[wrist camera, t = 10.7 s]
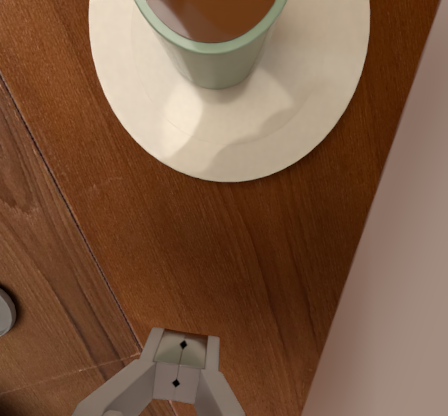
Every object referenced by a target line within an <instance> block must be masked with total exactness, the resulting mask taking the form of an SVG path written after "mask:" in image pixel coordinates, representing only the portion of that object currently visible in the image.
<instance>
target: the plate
mask: <svg viewBox="0 0 448 416" xmlns="http://www.w3.org/2000/svg"><path fill="white" fill-rule="evenodd" d="M369 31H370V4H369V0H287V2H286V4H285V7H284V9H283V11H282V14H281V16H280V18H279V21H278V23H277V25H276V28H275V30H274V32H273V35H272V37H271V39H270V41H269V44H268V46H267V48H266V51H265V53H264V55H263V58H262V59H261V61H260V63H259V65H258V66H257V67H256V69H255V70H254V71H253V72H252V73H251V74H250V75H249V76H248V77H247V78H246V79H245V80H243V81H242V82H240V83H238V84H236V85H234V86H232V87H228V88H224V89H208V88H204V87H200V86H198V85H196V84H194V83H192V82H190V81H189V80H187V79H186V78H185V77H184V76H182V75H181V73H180V72H179V71H178V70H177V69H176V68H175V66H174V65H173V64H172V62H171V60H170V59H169V57H168V55H167V54H166V52H165V51H164V49H163V47H162V46H161V44H160V43H159V41H158V39H157V38H156V36H155V35H154V33H153V31H152V30H151V28H150V27H149V25H148V23H147V22H146V20H145V18H144V17H143V15H142V14H141V12H140V10H139V8H138V7H137V5H136V3H135V1H134V0H90V3H89V36H90V43H91V50H92V56H93V60H94V64H95V68H96V72H97V76H98V78H99V81H100V84H101V86H102V89H103V91H104V94H105V96H106V98H107V100H108V102H109V104H110V106H111V108H112V110H113V112H114V113H115V115H116V116H117V118H118V119H119V121H120V122H121V124H122V125H123V127H124V128H125V129H126V130H127V131H128V133H129V134H130V135H131V136H132V137H133V139H134V140H135V141H136V142H137V143H138V144H139V145H141V146H142V147H143V148H144V149H145V150H146V151H147V152H148V153H149V154H151V155H152V156H154V157H155V158H156V159H158V160H159V161H160V162H162V163H164V164H166V165H167V166H169V167H171V168H173V169H175V170H177V171H179V172H182V173H184V174H187V175H189V176H192V177H196V178H200V179H204V180H209V181H217V182H240V181H248V180H254V179H257V178H261V177H265V176H268V175H271V174H273V173H275V172H278V171H280V170H283V169H284V168H286V167H288V166H290V165H292V164H293V163H295V162H297V161H298V160H300V159H301V158H302V157H304V156H305V155H306V154H308V153H309V152H310V151H311V150H313V149H314V148H315V147H316V146H317V145H318V144H319V143H320V142H321V141H322V140H323V139H324V138H325V137H326V136H327V134H328V133H329V132H330V131H331V130H332V128H333V127H334V126H335V125H336V123H337V122H338V120H339V119H340V117H341V116H342V114H343V113H344V111H345V109H346V107H347V105H348V104H349V102H350V100H351V98H352V96H353V94H354V92H355V89H356V86H357V84H358V81H359V78H360V76H361V73H362V69H363V65H364V61H365V57H366V53H367V46H368V39H369Z"/></svg>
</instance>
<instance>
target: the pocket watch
mask: <svg viewBox="0 0 448 416" xmlns="http://www.w3.org/2000/svg"><path fill="white" fill-rule="evenodd" d="M15 319H16V310H15V305H14V303H13V302H12V300H11V298H10V297H9V296H8V295H7V294H6V292H5V291H3V290H2V289H1V288H0V336H2V335H4V334H5V333H6V332H8V331H9V330H10V329H11V328H12V326H13V324H14V323H15Z"/></svg>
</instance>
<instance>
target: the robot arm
mask: <svg viewBox="0 0 448 416" xmlns="http://www.w3.org/2000/svg"><path fill="white" fill-rule="evenodd" d="M219 344H220V338H219V337H216V336H209V335H201V334H194V333H188V332H181V331H175V330H170V329H163V328H158V327H153V328H152V330H151V332H150V334H149V337H148V339H147V341H146V344H145V346H144V349H143V351H142V353H141V356H140V358H139V360H138V359H135V360H134V361H132V362H131V363H130V364H128V365H127V366H126V367H125V368H123V369H122V370H121V371H120V372H118V373H117V374H116V375H114V376H113V377H112V378H111V379H109V380H108V381H107V382H105V383H104V384H103V385H102V386H100V387H99V388H98V389H96V390H95V391H94V392H93V393H91V394H90V395H89V396H87V397H86V398H85V399H84V400H82V401H81V402H80V403H79V404H78V405H77V407H76V408H75V410H74V412H73V413H72V415H71V416H138V415H139V414H140V413H141V412H142V411H143V409H144V408H145V407H146V406H147V405H148V404H149V402H150V401H151V400H152V398H156V399H165V400H174V401H179V402H184V403H190V404H194V407H195V410H196V413H197V416H246V414H245V413H244V411H243V409H242V407H241V406H240V404H239V402H238V400H237V398H236V397H235V395H234V393H233V391H232V390H231V388H230V386H229V384H228V382H227V381H226V379H225V377H224V375H223V373H222V372H218V369H219Z"/></svg>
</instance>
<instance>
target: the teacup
mask: <svg viewBox="0 0 448 416" xmlns="http://www.w3.org/2000/svg"><path fill="white" fill-rule="evenodd" d="M134 1H135V3H136V5H137V7H138V8H139V10H140V12H141V14H142V15H143V17H144V18H145V20H146V22H147V23H148V25H149V27H150V28H151V30H152V31H153V33H154V35H155V36H156V38H157V39H158V41H159V43H160V44H161V46H162V47H163V49H164V51H165V52H166V54H167V55H168V57H169V59H170V60H171V62H172V64H173V65H174V66H175V68H176V69H177V70H178V71H179V72H180V73H181V75H182V76H184V77H185V78H186V79H187V80H189V81H190V82H192V83H194V84H196V85H198V86H200V87H204V88H208V89H224V88H228V87H232V86H234V85H236V84H238V83H240V82H242V81H243V80H245V79H246V78H247V77H248V76H249V75H250V74H251V73H252V72H253V71H254V70H255V69H256V67H257V66H258V65H259V63H260V61H261V59H262V58H263V55H264V53H265V51H266V48H267V46H268V44H269V41H270V39H271V37H272V35H273V32H274V30H275V28H276V25H277V23H278V21H279V18H280V16H281V14H282V11H283V9H284V7H285V4H286V2H287V0H134Z"/></svg>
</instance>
